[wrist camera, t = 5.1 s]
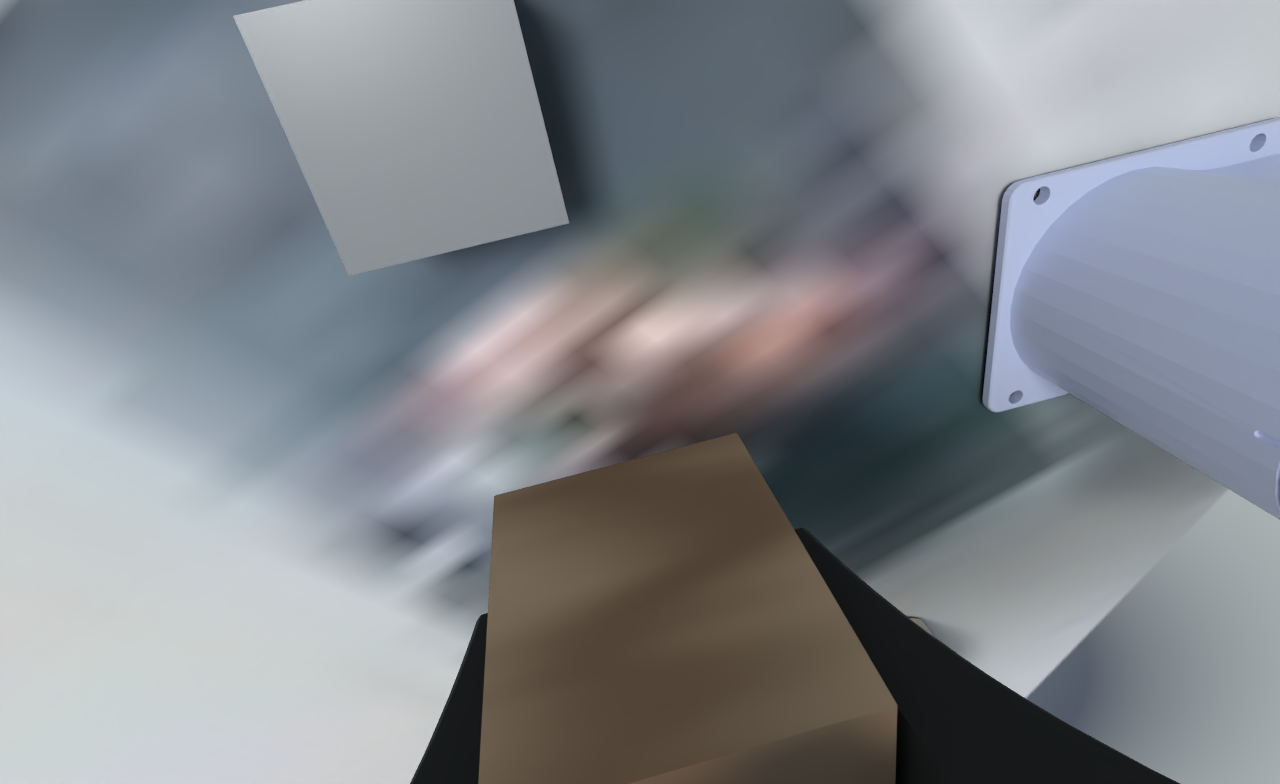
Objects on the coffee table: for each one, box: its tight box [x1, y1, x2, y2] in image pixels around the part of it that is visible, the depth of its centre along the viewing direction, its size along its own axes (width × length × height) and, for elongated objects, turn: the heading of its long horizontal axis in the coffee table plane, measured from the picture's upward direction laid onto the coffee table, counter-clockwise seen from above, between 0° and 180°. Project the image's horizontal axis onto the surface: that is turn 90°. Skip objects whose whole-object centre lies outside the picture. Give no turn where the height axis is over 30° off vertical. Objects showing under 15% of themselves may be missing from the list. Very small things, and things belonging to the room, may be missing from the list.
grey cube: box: [233, 0, 569, 276], centre depth 13 cm, size 4×4×4 cm
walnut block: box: [478, 433, 897, 784], centre depth 10 cm, size 4×4×6 cm
